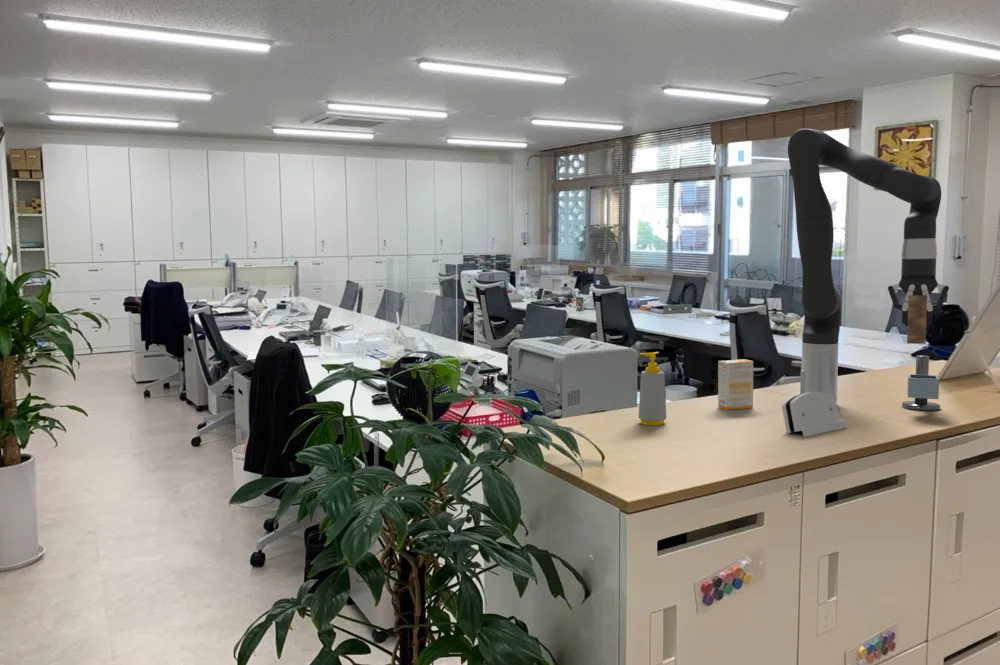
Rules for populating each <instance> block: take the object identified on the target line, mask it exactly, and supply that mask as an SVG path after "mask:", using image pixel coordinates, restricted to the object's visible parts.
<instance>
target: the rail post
mask: <svg viewBox="0 0 1000 665" xmlns="http://www.w3.org/2000/svg"><path fill="white" fill-rule="evenodd" d="M926 311H927V295H909V298H908V326H907V332H906V333H907V336H906V337H907V338H906V344H917V345H918V344H919V345H926V336H927V332H926V331H927V327H926Z"/></svg>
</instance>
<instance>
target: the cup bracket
mask: <svg viewBox="0 0 1000 665" xmlns="http://www.w3.org/2000/svg"><path fill="white" fill-rule="evenodd" d="M915 358H916V359H915V374H912V373H911V374H909V373H908V374H907V392H906V393H907V394H906V396H907V398H910V399H914V400H907V401H903V402H901V408H903V409H907V410H911V411H919V412H937V411H940V410H941V404H939V403H937V402H931V401H928V400H939V394H940V377H939V375H931V374H929V370H930V368H929V366H930V356H929V355H923V354H921V355H916V356H915Z"/></svg>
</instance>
